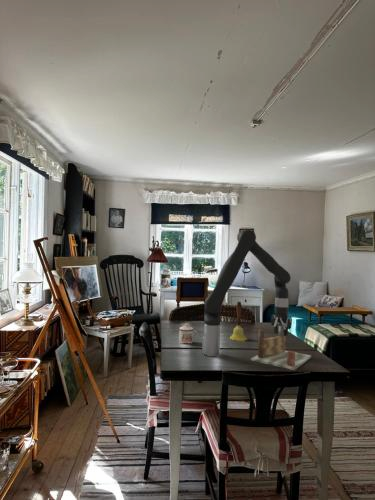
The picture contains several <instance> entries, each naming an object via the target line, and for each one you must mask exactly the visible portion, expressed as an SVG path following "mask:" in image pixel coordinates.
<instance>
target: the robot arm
mask: <svg viewBox="0 0 375 500" xmlns="http://www.w3.org/2000/svg"><path fill="white" fill-rule="evenodd" d="M236 238H237V241H238V242H237V245H236V247H235V249H234V250H233V251H232V253H231V254H230V255H229V256H228V258H227V259H226V260H225V262H224V264H223V266H222V268H221V269H220V272H219V274H218V277H217V280H216V284H215V287H214V288H213V290H212V291H211V293H210V295H208V296H207V297H206V298H205V300H204V311H203V312H204V316H203V317H204V318H203V322H204V323H203V324H204V325H203V336H202V342H201V343H202V344H201V354H202V353H203V354H202V355H204V354H205V355H204V356H206V355H207V356H206V357H212V356H214V357H218V356H220V355H221V354H220V353H221V351H220V348H221V322H222V321H221V308H222V306H223V302H224V300H225V297H226V296H227V293H228V291H229V290H230V288H231V287H232V285H233V283H234V281H236V278H237V276H238V275H239V272H240V270H241V268H242V266H243V264H244V262H245V260H246V257H247V255H248V253H249V252H250V253H251V254H252V255H253V256H254V257H256V259H257V260H258V261H259V262H260V264H262V266H263V267H264V268H265V270H267V271H268V272H269V273H271V274H272V275H274V277H273V278H274V279H273V281H274V288H275V298H274V300H275V301H274V313H275V314H271V315H270V324H271V326H273V330H274V331H273V332H274V334H276V335H277V334H279V326H280V324H281V326H283V336H286V337H287V336H288V334H289V330H291V329H292V324H293V318H290V317H288V315H289V289H288V287H287V286H286V285H287V284H289V282H290V281H291V279H292V277H291V274H290V273H289V271H287V270H286V269H285V268H284V267H283V266H282V265H280V264H279V263H278V262H277V261H276V259H275V258H274V257H273V256H272V255H271V254H270V253H269V252H268V251H266V250H265V249H264V248H263V247H262V246H261V245H259V243H258V242H257V241H256V240H257V236H256V233H255V232H254V231H253V230H252V229H242V230H240V231H239V232H238V233H237V235H236Z"/></svg>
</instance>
